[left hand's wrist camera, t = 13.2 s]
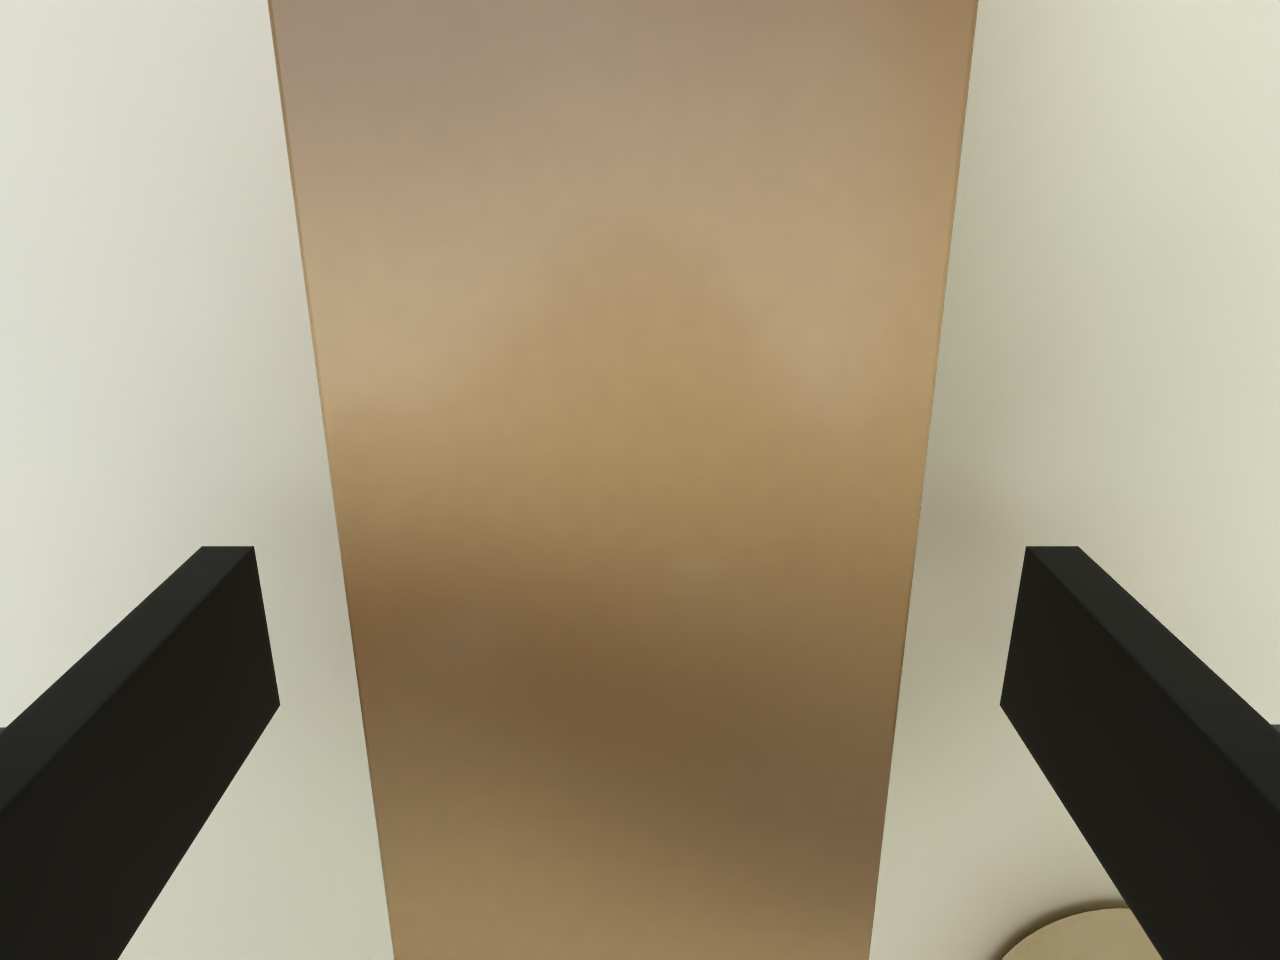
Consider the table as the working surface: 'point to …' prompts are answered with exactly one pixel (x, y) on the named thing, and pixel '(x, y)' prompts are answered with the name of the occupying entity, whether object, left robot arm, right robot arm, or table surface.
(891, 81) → the beam
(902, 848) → the table surface
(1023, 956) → the candle
